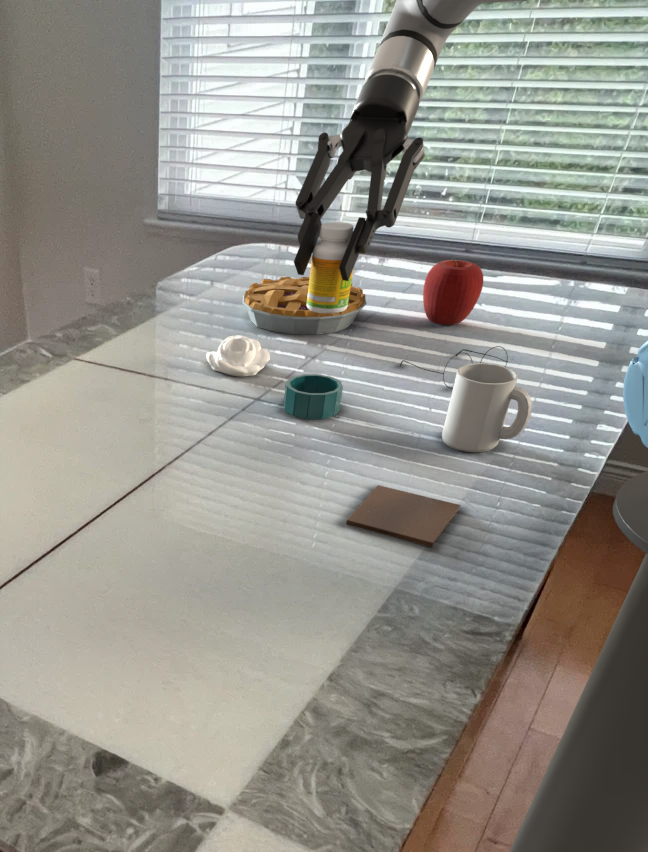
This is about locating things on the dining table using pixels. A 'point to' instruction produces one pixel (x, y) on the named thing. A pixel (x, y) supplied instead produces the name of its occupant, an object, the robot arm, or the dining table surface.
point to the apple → (451, 291)
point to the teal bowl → (312, 396)
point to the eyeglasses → (456, 355)
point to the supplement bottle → (329, 270)
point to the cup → (484, 408)
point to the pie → (296, 307)
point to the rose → (239, 356)
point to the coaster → (404, 515)
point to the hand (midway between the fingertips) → (321, 271)
